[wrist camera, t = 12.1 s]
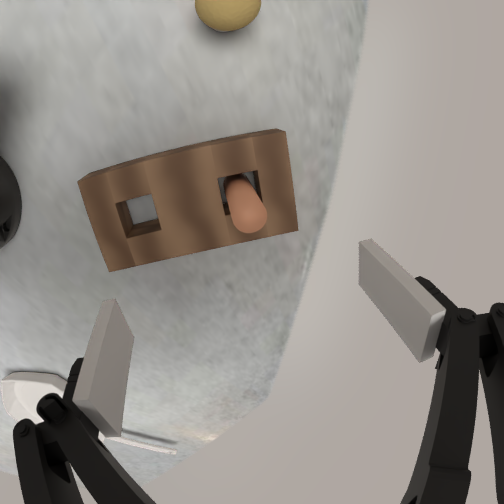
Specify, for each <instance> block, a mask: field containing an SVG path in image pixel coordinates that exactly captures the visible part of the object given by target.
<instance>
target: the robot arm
mask: <svg viewBox="0 0 504 504" xmlns="http://www.w3.org/2000/svg"><path fill="white" fill-rule="evenodd" d="M20 217H21V196H20V191H19V187H18V184H17V181H16V178H15V176H14V174H13V172H12V170H11V169H10V167H9V166H8V164H7V163H6V162H5V161H4V160H3V159H2V158H1V157H0V248H2V247H3V246H4V245H5V244H6V243H7V242H8V241H9V240H10V239H11V238H12V237H13V236H14V234H15V232H16V231H17V228H18V226H19V222H20ZM359 285H360V286H361V288H362V289H363V290H364V291H365V293H366V294H367V295H368V296H369V298H370V299H371V300H372V301H373V303H374V304H375V305H376V306H377V308H378V309H379V310H380V312H381V313H382V314H383V315H384V317H385V318H386V319H387V320H388V322H389V323H390V324H391V326H392V327H393V328H394V330H395V331H396V332H397V333H398V335H399V336H400V337H401V339H402V340H403V341H404V343H405V344H406V345H407V347H408V348H409V349H410V351H411V352H412V353H413V355H414V356H415V357H416V359H417V360H418V362H423V361H425V360H427V359H429V358H431V357H433V355H434V352H435V348H437V349H438V350H439V352H440V355H439V359H438V361H437V364H436V367H435V369H437V374H436V379H435V385H434V391H433V396H432V402H431V406H430V411H429V415H428V420H427V424H426V428H425V432H424V436H423V440H422V444H421V448H420V452H419V455H418V458H417V462H416V465H415V468H414V472H413V475H412V478H411V481H410V484H409V486H408V489H407V491H406V493H405V495H404V497H403V499H402V501H401V503H400V504H465V502H466V498H467V494H468V490H469V486H470V481H471V471H470V470H468V463H469V458H470V453H471V447H472V440H473V433H474V426H475V418H476V407H477V395H478V380H479V370H480V374H481V378H482V383H483V388H484V393H485V398H486V403H487V409H488V415H489V421H490V428H491V435H492V443H493V453H494V464H495V477H496V493H497V500H498V504H504V303H495V304H493V305H492V307H491V309H490V312H489V313H485V314H479V315H476V313H475V312H473V311H472V310H470V309H466V308H458V307H457V306H456V305H455V304H454V303H453V302H452V301H450V300H449V299H448V298H447V297H446V296H445V295H444V294H443V293H441V291H440V290H439V289H438V288H436V286H435V285H434V284H433V283H431V282H430V281H429V280H427V279H425V278H423V277H421V276H419V277H416V278H413V277H412V276H411V275H410V274H409V273H408V272H407V271H406V270H405V269H404V268H403V267H402V266H401V265H400V264H399V263H397V262H396V261H395V260H394V259H393V258H392V257H391V256H390V255H389V254H388V253H387V252H386V251H384V250H383V249H382V248H381V247H380V246H379V245H378V244H376V243H375V242H374V241H373V240H372V239H368V240H364V241H360V242H359ZM133 342H134V336H133V334H132V332H131V330H130V328H129V326H128V324H127V322H126V320H125V318H124V316H123V314H122V312H121V309H120V307H119V305H118V303H117V301H116V299H111V300H106V301H103V302H102V305H101V308H100V311H99V313H98V316H97V319H96V322H95V325H94V328H93V331H92V334H91V337H90V340H89V343H88V347H87V350H86V353H85V356H84V358H78V359H77V360H76V361H75V363H74V364H73V365H72V367H71V371H70V374H69V377H68V380H67V384H66V387H65V390H64V394H63V397H62V398H61V397H60V396H59V395H58V394H57V393H48V394H46V395H45V396H43V397H42V398H41V399H40V400H39V402H38V404H37V407H36V411H37V414H38V415H39V416H40V417H41V418H42V419H43V420H44V422H41V423H38V424H35V423H34V422H33V421H32V420H30V419H27V418H25V419H22V420H20V421H19V422H18V423H17V424H16V425H15V427H14V429H13V440H14V449H15V456H16V463H17V469H18V475H19V480H20V485H21V490H22V495H23V499H24V503H25V504H84V503H83V501H82V498H81V495H80V492H79V490H78V487H77V484H76V481H75V478H74V475H73V472H72V469H71V466H72V467H73V469H74V470H75V472H76V473H77V475H78V476H79V478H80V479H81V481H82V482H83V484H84V485H85V487H86V488H87V490H88V491H89V492H90V494H91V495H92V496H93V498H94V499H95V501H96V502H97V503H98V504H156V503H155V502H154V501H153V500H152V499H151V498H150V497H149V496H148V495H147V494H146V493H145V492H144V491H143V489H142V488H141V487H140V486H139V485H138V484H137V483H136V482H135V481H134V480H133V479H132V478H131V476H130V475H129V474H128V473H127V472H126V471H125V470H124V468H123V467H122V466H121V465H120V464H119V463H118V461H117V460H116V459H115V458H114V457H113V455H112V454H111V453H110V452H109V450H108V449H107V448H106V447H105V445H104V444H103V443H102V441H101V440H100V439H99V438H98V436H99V431H100V432H101V433H102V434H103V435H104V436H105V437H106V438H107V437H121V430H122V420H123V411H124V403H125V395H126V387H127V380H128V373H129V367H130V360H131V354H132V348H133ZM69 462H70V463H69ZM70 464H71V466H70Z"/></svg>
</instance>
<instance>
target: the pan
mask: <svg viewBox="0 0 504 504" xmlns="http://www.w3.org/2000/svg"><path fill="white" fill-rule="evenodd" d="M66 384H67V381H66V380H64V379H63V378H61V377H60V376H58V375H55V374H48V373H37V372H14V373H12V374H10V375H8V376H7V377H5V378H3V379H2V380H1V394H2V400H3V404H4V407H5V410H6V412H7V414H8V415H9V416H11V417H12V418H13V419H14V420H16V421H17V422H19V421H20V420H22V419H25V418H27V419H30V420H32V421H33V422H34V423H35V424H38V423H41V422H44V420H43V419H42V418H41V417H40V416H39V415H38V414H37V411H36V407H37V404H38V402H39V400H40V399H41V398H42V397H43V396H45V395H46V394H48V393H57V394H58V395H59V396H60V397H61V398H62V397H63V394H64V390H65V387H66ZM98 438H99V439H100V440H101V441H102V443H103V442H104V439H105V438H106V437H105V436H104V435H103V434H102V433H101V432H100V431H99V436H98ZM107 438H108V439H110V440H114V441H117V442H121V443H125V444H129V445H132V446H136V447H141V448H145V449H149V450H154V451H158V452H163V453H168V454H173V455H176V453H177V450H176V449H171V448H166V447H161V446H156V445H152V444H148V443H143V442H139V441H135V440H131V439H128V438H124V437H107Z"/></svg>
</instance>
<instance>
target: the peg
mask: <svg viewBox="0 0 504 504" xmlns="http://www.w3.org/2000/svg"><path fill="white" fill-rule="evenodd" d="M223 186H224V190H225V194H226V198H227V202H228V206H229V210H230V213H231V217H232V221H233V224H234V226H235V227H236V228H237V229H238V230H239V231H241V232H244V233H254V232H256V231H258V230H260V229H261V228H262V227H263V226H264V225H265V223H266V221H267V211H266V208H265V207H264V205H263V203H262V202H261V200H260V198H259V197H258V195H257V193H256V192H255V190H254V188H253V187H252V185H251V183H250V182H249V180H248V178H247V177H246V176H245V175H244V174H243V173H240V174H235V175H230V176H226V178H225V179H224V183H223Z"/></svg>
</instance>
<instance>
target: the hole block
mask: <svg viewBox="0 0 504 504" xmlns="http://www.w3.org/2000/svg"><path fill="white" fill-rule="evenodd" d="M250 171H253V175H254V181H255V186H256V192H257V195H258V197H259V198H260V200H261V202H262V203H263V205H264V207H265V208H266V211H267V221H266V223H265V225H264V226H263V227H262V228H261V229H260V230H258V231H256V232H254V233H244V232H241V231H239V230H238V229H237V228H236V227H235V226H234V224H233V221H232V217H231V213H230V210H229V206H228V203H225V204H223V203H222V199H221V194H220V189H219V184H218V179H217V178H220V177H225V176H230V175H235V174H240V173H245V172H250ZM78 185H79V189H80V192H81V195H82V198H83V201H84V205H85V208H86V211H87V214H88V217H89V219H90V222H91V225H92V228H93V231H94V234H95V236H96V239H97V242H98V244H99V247H100V250H101V252H102V255H103V258H104V260H105V263H106V265H107V268H108V270H109V272H112V271H117V270H121V269H126V268H130V267H134V266H139V265H143V264H148V263H152V262H156V261H161V260H165V259H170V258H174V257H179V256H183V255H188V254H192V253H197V252H201V251H206V250H210V249H215V248H220V247H224V246H229V245H233V244H238V243H242V242H247V241H252V240H256V239H261V238H266V237H270V236H275V235H280V234H284V233H289V232H294V231H298V222H297V214H296V205H295V197H294V189H293V181H292V174H291V166H290V159H289V152H288V145H287V138H286V132H285V131H282V130H279V129H270V130H264V131H258V132H253V133H247V134H241V135H236V136H231V137H226V138H221V139H216V140H211V141H206V142H202V143H197V144H193V145H189V146H184V147H180V148H176V149H172V150H168V151H164V152H160V153H156V154H152V155H149V156H145V157H141V158H138V159H134V160H131V161H127V162H124V163H120V164H117V165H114V166H110V167H107V168H104V169H101V170H98V171H95V172H91V173H89V174H88V175H86V176H85V177H83V178H82V179H80V180H79V181H78ZM148 194H152V198H153V201H154V205H155V208H156V212H157V215H158V219H155V220H151V221H147V222H143V223H139V224H135V225H133V222H132V219H131V216H130V213H129V209H128V206H127V203H126V200H129V199H133V198H137V197H140V196H144V195H148Z"/></svg>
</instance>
